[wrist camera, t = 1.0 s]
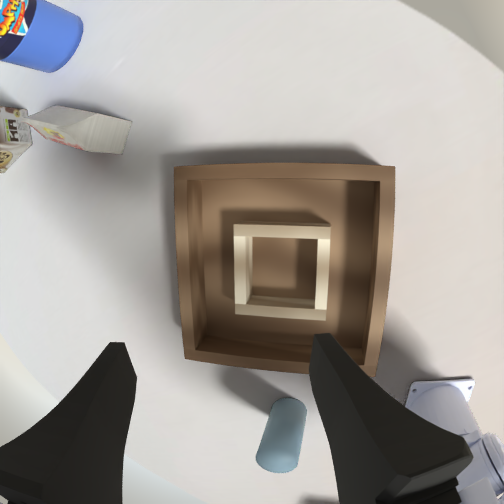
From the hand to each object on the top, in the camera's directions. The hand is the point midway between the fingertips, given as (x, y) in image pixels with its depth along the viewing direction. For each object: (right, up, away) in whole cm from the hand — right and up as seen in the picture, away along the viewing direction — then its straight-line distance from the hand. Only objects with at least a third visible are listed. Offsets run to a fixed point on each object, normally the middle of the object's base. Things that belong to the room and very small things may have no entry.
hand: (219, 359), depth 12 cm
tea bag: (-15, +17, +20) cm, 31 cm away
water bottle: (-25, +33, +20) cm, 45 cm away
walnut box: (+4, +3, +18) cm, 19 cm away
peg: (+5, -14, +22) cm, 26 cm away
